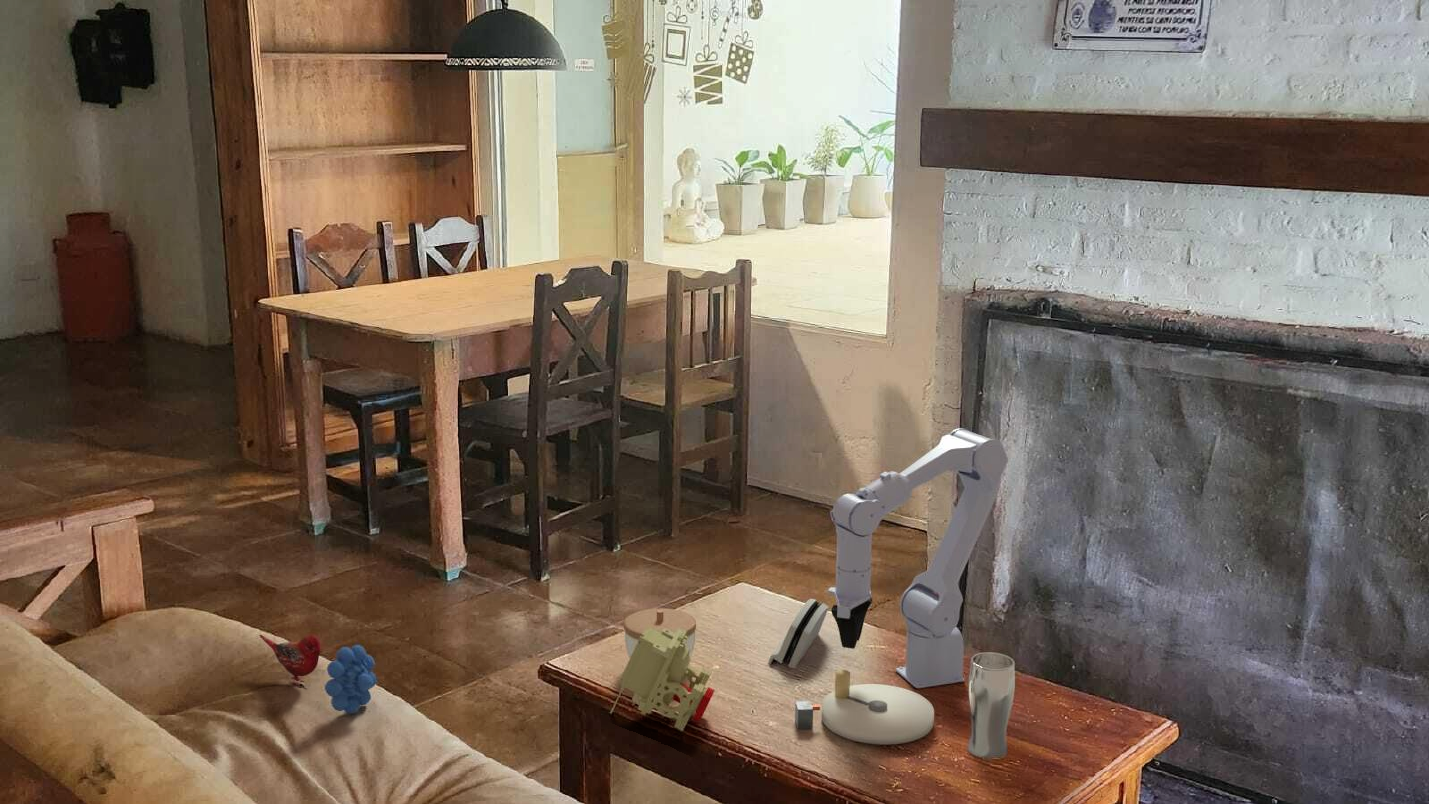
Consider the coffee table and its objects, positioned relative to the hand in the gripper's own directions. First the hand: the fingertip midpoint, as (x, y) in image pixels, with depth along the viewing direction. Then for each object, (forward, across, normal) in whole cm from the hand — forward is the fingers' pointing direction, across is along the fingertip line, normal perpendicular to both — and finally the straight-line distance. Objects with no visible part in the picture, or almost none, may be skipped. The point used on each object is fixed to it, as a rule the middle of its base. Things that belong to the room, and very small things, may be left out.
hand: (850, 643), depth 224 cm
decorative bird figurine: (+10, +25, -92) cm, 96 cm away
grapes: (+10, +33, -75) cm, 82 cm away
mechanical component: (+10, +18, -24) cm, 32 cm away
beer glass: (+10, +12, +24) cm, 29 cm away
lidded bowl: (+10, 0, -34) cm, 35 cm away
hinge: (+10, -16, -12) cm, 22 cm away
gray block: (+9, +13, -5) cm, 17 cm away
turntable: (+9, +9, +6) cm, 14 cm away
